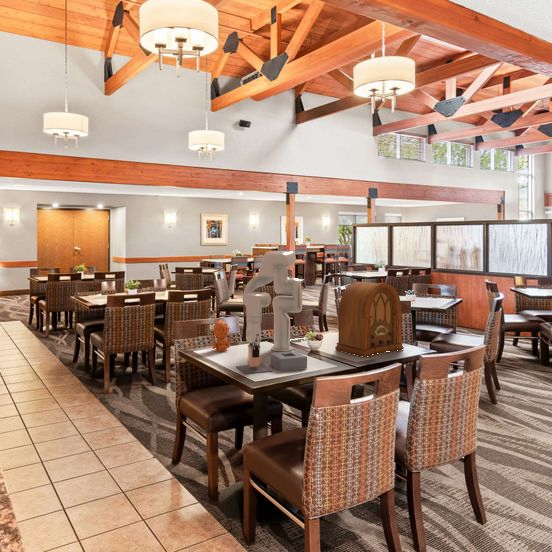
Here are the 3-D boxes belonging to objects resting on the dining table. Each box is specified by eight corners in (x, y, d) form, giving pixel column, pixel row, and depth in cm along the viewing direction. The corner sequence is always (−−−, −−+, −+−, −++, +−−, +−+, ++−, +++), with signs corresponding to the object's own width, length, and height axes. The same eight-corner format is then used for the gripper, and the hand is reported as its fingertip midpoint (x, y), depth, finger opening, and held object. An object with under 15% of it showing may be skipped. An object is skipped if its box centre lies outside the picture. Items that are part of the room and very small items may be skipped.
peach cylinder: (247, 364, 236) (247, 344, 236) (257, 363, 238) (257, 344, 238) (251, 367, 232) (250, 346, 231) (260, 366, 234) (260, 345, 233)
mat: (236, 367, 239) (236, 366, 239) (262, 364, 244) (262, 363, 244) (244, 374, 226) (244, 373, 226) (272, 371, 231) (272, 370, 231)
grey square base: (270, 364, 245) (270, 353, 244) (295, 362, 250) (295, 350, 249) (280, 371, 232) (280, 359, 231) (307, 368, 237) (307, 356, 236)
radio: (364, 358, 260) (365, 284, 257) (335, 350, 279) (335, 282, 276) (403, 350, 279) (405, 282, 277) (373, 343, 298) (374, 279, 296)
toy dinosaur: (227, 347, 285) (227, 317, 283) (233, 351, 275) (233, 320, 274) (209, 349, 280) (208, 319, 279) (215, 353, 270) (214, 321, 269)
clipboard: (283, 332, 331) (311, 338, 308) (283, 334, 332) (311, 341, 308) (260, 335, 320) (288, 342, 296) (260, 337, 320) (288, 345, 296)
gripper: (241, 317, 240) (241, 353, 241) (252, 322, 224) (252, 360, 226) (255, 316, 243) (255, 351, 244) (267, 321, 227) (267, 359, 228)
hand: (254, 355), depth 235 cm, fingers closed on peach cylinder, 4 cm apart
